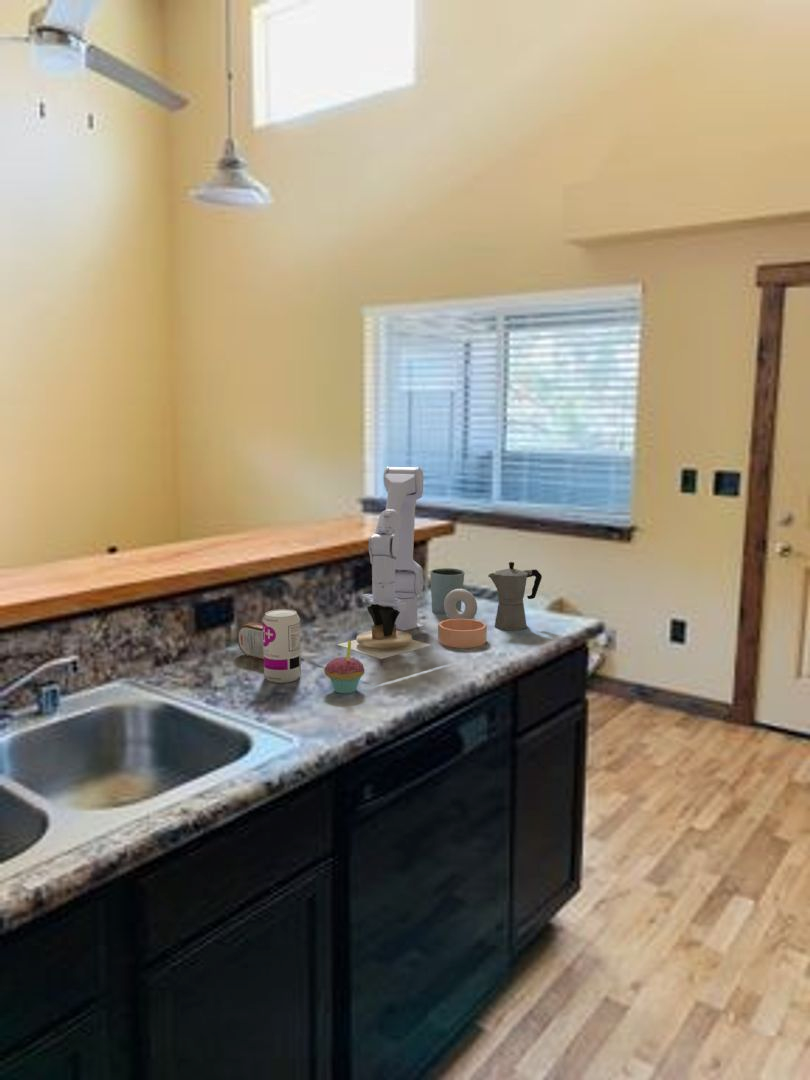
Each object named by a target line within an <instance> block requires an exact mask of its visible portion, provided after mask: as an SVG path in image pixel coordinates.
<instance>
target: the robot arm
mask: <svg viewBox="0 0 810 1080" xmlns="http://www.w3.org/2000/svg"><path fill="white" fill-rule="evenodd" d="M422 469H423V468H422V467H420V466H417V467H415V466H414V467H412V466H411V467H407V466H405V467H403V466H402V467H401V466H399V467H398V466H397V467H396V466H386V468H385V469H384V472H383V485H384V488H385V490H386V492H387V497H386V504H385V510H383V511H382V512H380V514H379V517H378V520H377V525H376V528H375V531H374V534H373V535H370V537H369V539H368V553H369V558H370V559H369V560H370V564H371V576H372V577H371V580H372V581H371V582H372V585H371V587H372V588H371V589H372V592H371V593H365V594H362V603H369V604H370V606H367V610H366V611H368V613H369V615H370V617H371V620H372V622H373V626H377V625H381V624H383V632H384V636H390V635H392V632H393V628H394V624H396V630H398V631H408V630H412V629H416V628H419V627H420V628H421V627H424V626H425V625H424V624H421V623H419V622H418V596H419V595H421V594H422V592H423V589H424V574H423V570H424V569H423V567H422V566H421V565H420V564H419V563H418V562H416V561H415V560H414V548H415V547H414V540H415V519H416V506H417V500H419V499H422V498H423V494H424V472H423V470H422ZM397 570H398V571H397ZM399 570H401V571H399Z"/></svg>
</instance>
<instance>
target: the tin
mask: <svg viewBox="0 0 810 1080" xmlns="http://www.w3.org/2000/svg"><path fill="white" fill-rule="evenodd" d="M237 644H238V648H239V650H240V651H241V652H242V654H244V655H245V656H247V655H248V656H247V657H249V656H251V657H250V658H253V657H255V658H254V659H257V658H258V659H257V660H261V661H264V651H263V623H260V622H255V621H250V622H247V623H245V624H243V625H241V626H240V627H239V628H238V629H237Z"/></svg>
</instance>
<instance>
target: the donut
mask: <svg viewBox="0 0 810 1080" xmlns="http://www.w3.org/2000/svg"><path fill="white" fill-rule="evenodd" d="M459 600H460V601H461V602H462V603H463V604H464V606H465V607H464V610H463V611H460V612H459V611H458V610H457V608H456V602H457V601H459ZM477 603H478V602H477V599H476V597H475V596H474V594H472V592H470V591H469V590H467V589H465V588H463V589H454V590H452V591H451V592H450V593H448V594H447V596H446V598H445V601H444V610H445V612H446V614H445V615H446V617H448V619H461V618H462V619H475V617H476V615H477V614H478V613H477V611H478V604H477Z"/></svg>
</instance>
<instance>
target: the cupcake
mask: <svg viewBox="0 0 810 1080" xmlns="http://www.w3.org/2000/svg"><path fill="white" fill-rule="evenodd" d="M351 641H352V637H350V638H349V640H348V641H347V642H348V648H346V650H347V651H346V656H345V657H344V656H342V657H341V656H339V657H335V658H333V659H332V660H331V661H328V663H327V664H326V666H324V670H323V671H324V675H325V676H326V677H327V678H329V680H330V681H331V684H332V687H333V690H334V692H336V693H338V694H352V693H355V692H356V691H357V690H358V687H359V686H358V685H359V683H360V681H361V678H362V676H363V675H364V674H365V667H364V664H363V663H362V662H361V661H360V660H359V659H356V658H355V657H351V651H352V649H351Z"/></svg>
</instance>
